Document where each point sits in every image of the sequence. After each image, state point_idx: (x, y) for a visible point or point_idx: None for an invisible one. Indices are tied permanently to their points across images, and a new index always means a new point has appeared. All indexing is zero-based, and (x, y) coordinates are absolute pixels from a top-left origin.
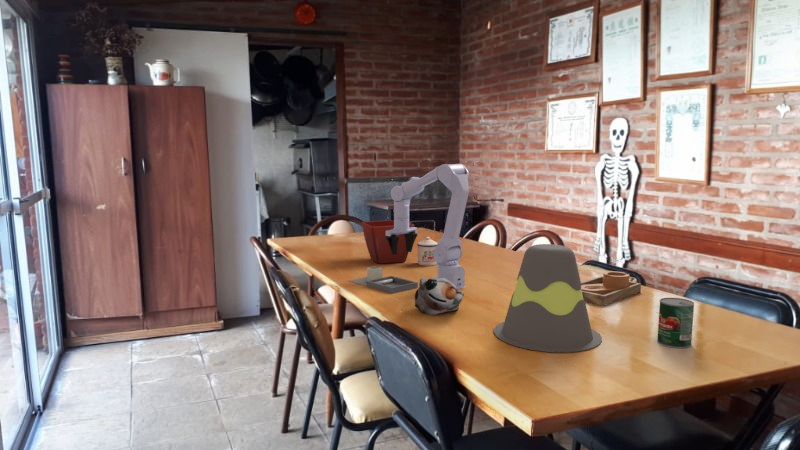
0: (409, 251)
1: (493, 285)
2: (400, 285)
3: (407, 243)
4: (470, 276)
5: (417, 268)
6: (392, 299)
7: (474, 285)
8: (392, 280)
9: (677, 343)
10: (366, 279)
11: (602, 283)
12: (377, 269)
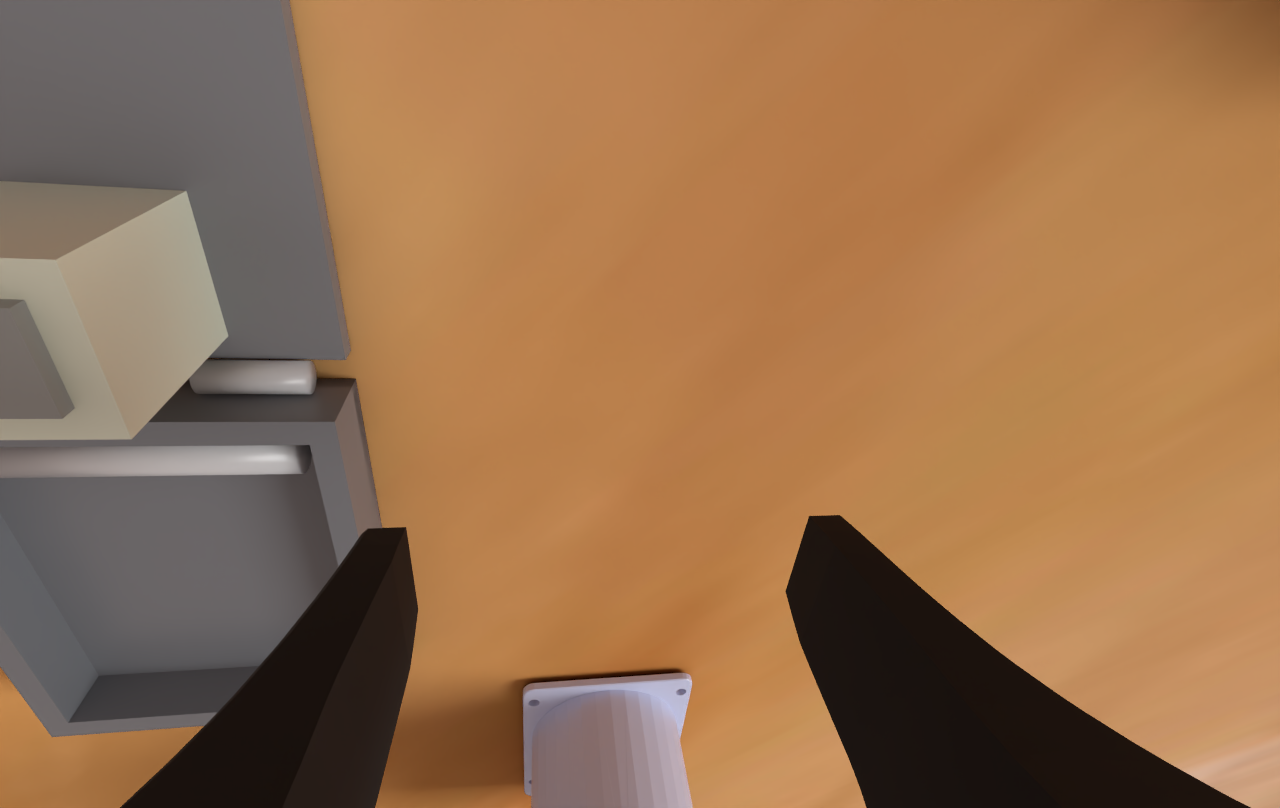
0: (792, 584)
1: (832, 783)
2: (179, 715)
3: (896, 679)
4: (1000, 618)
5: (1194, 53)
6: (30, 744)
7: (770, 749)
8: (296, 471)
9: None
10: (25, 87)
11: None
12: (13, 433)
